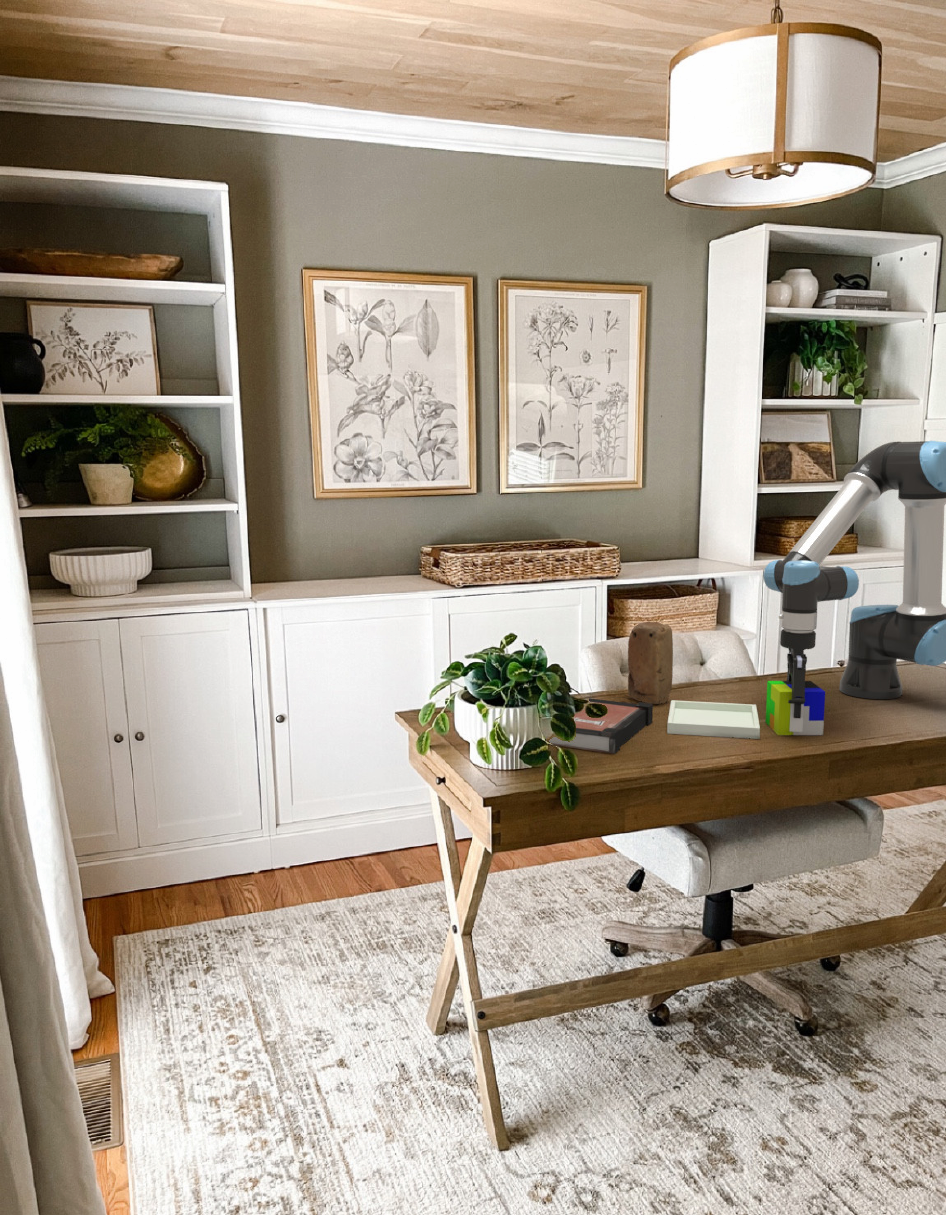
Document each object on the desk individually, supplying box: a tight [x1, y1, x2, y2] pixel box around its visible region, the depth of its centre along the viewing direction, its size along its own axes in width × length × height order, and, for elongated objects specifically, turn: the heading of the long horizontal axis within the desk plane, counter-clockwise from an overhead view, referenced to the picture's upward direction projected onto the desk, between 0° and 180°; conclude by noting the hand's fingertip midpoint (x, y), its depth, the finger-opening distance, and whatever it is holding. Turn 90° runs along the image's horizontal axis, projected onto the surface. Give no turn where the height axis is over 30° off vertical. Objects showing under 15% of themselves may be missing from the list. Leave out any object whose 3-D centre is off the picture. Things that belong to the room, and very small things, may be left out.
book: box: [549, 697, 654, 755], centre depth 216 cm, size 26×18×5 cm
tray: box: [666, 699, 761, 740], centre depth 221 cm, size 20×20×2 cm
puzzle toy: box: [765, 680, 826, 736], centre depth 217 cm, size 10×10×10 cm
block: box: [627, 621, 674, 705], centre depth 241 cm, size 11×8×20 cm
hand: (793, 724), depth 217 cm, fingers closed on puzzle toy, 11 cm apart
